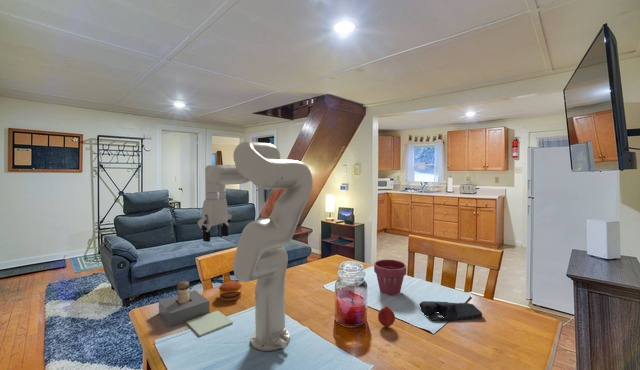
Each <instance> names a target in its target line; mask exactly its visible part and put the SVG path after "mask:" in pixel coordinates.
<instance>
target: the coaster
mask: <svg viewBox="0 0 640 370" xmlns="http://www.w3.org/2000/svg"><path fill="white" fill-rule="evenodd" d="M185 323H186V324H187V325H188V326H189V328H190V329H191V330H193V331H194V332H195V334H196V335H197V336H198V337H202V336H205V335H208V334H210V333H213V332H214V331H217V329H218V330H219V329H223V328H225V327H227V326H230V325H233V324H234V322H233V321H232V320H231V319H230V318H228V317H227V316H226V315H225V314H223V313H222V312H221V311H219V310H215V311H212V312H209V314H206V315H203V316H201V317H198V318H195V319H192V320H189V321H186V322H185Z"/></svg>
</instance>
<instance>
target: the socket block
mask: <svg viewBox="0 0 640 370" xmlns="http://www.w3.org/2000/svg"><path fill="white" fill-rule="evenodd" d="M189 301H190V302H188V303H184V304H181V305H179V304H178V294H177V295H174V296H170V297H166V298H162V299H160V300H158V314H159V315H160V316H161V318H163V320H164V321H165V322H166V324H167V325H168V326H169V327H170V328H172V327H175V326H178V325H180V324H183V323H186V321H189V320H192V319H195V318H198V317H201V316H203V315H206V314H209V313H210V300H209V299H208V298H206V297H204V296H203V294H200V293H199V292H198V291H197V290H195V289H194V290H192V291H189Z"/></svg>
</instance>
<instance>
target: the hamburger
mask: <svg viewBox="0 0 640 370" xmlns="http://www.w3.org/2000/svg"><path fill="white" fill-rule="evenodd" d="M242 287H243V285H242V283H240V282H239V281H235V280H230V281H226V282H223V283H221V285H220V286H219V287H218V290H219V299H220V300H221V302H226V303H227V302H233V301H234V302H235V301H236V300H237V301H238V300H239V299H241V298H242Z"/></svg>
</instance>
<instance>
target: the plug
mask: <svg viewBox="0 0 640 370" xmlns="http://www.w3.org/2000/svg"><path fill="white" fill-rule="evenodd" d="M176 286H177V295H178V304H179V305H181V304H184V303H188V302H190V301H189V292H190V282H189V281H187V280H183V281H180V282H178V283H177V285H176Z"/></svg>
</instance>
